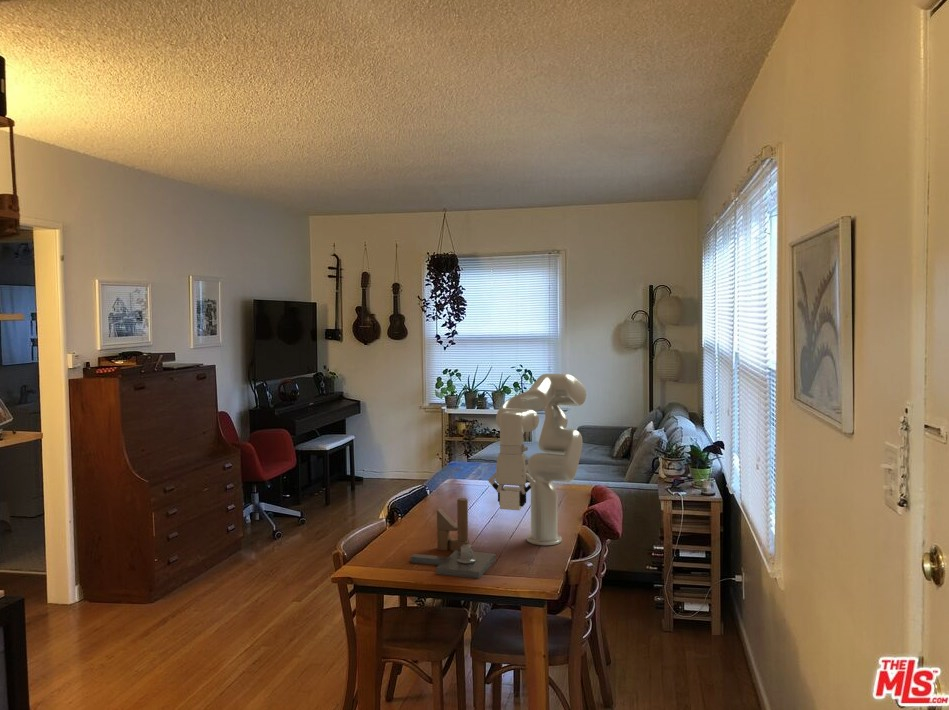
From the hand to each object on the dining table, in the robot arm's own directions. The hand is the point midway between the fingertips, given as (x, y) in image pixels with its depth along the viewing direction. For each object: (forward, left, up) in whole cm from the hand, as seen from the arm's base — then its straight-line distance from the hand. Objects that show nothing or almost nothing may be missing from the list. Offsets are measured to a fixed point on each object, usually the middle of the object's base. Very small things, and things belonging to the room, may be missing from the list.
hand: (512, 504), depth 222 cm
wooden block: (-8, -23, -20) cm, 32 cm away
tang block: (+7, -19, -20) cm, 28 cm away
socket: (0, 0, -1) cm, 1 cm away
